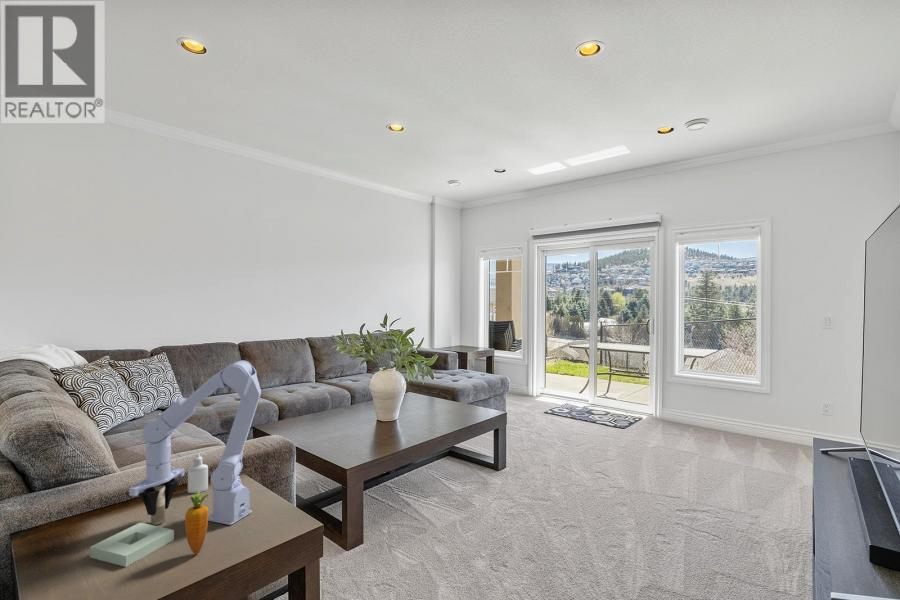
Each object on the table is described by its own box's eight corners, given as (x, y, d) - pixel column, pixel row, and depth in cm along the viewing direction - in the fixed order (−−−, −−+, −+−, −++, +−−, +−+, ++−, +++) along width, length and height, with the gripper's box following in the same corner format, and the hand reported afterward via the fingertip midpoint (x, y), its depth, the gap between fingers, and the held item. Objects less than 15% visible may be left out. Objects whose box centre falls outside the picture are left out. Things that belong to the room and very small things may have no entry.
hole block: (173, 539, 110) (173, 530, 110) (125, 567, 99) (126, 556, 99) (139, 531, 114) (140, 522, 114) (89, 557, 102) (90, 546, 102)
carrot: (192, 548, 106) (193, 487, 107) (212, 548, 106) (213, 488, 106) (179, 560, 101) (180, 496, 102) (200, 560, 101) (200, 497, 101)
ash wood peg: (167, 519, 120) (168, 485, 120) (156, 525, 116) (157, 490, 117) (159, 518, 121) (159, 484, 121) (148, 523, 117) (148, 489, 118)
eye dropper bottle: (201, 494, 136) (202, 456, 136) (185, 493, 137) (185, 455, 137) (210, 488, 141) (210, 451, 141) (194, 487, 141) (194, 451, 141)
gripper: (171, 451, 127) (171, 497, 127) (121, 469, 113) (120, 521, 113) (190, 454, 125) (189, 501, 125) (140, 473, 111) (140, 525, 111)
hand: (158, 511), depth 119 cm, fingers closed on ash wood peg, 3 cm apart
